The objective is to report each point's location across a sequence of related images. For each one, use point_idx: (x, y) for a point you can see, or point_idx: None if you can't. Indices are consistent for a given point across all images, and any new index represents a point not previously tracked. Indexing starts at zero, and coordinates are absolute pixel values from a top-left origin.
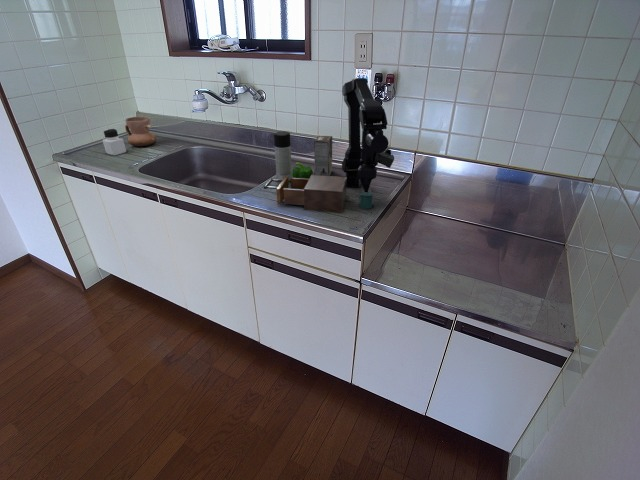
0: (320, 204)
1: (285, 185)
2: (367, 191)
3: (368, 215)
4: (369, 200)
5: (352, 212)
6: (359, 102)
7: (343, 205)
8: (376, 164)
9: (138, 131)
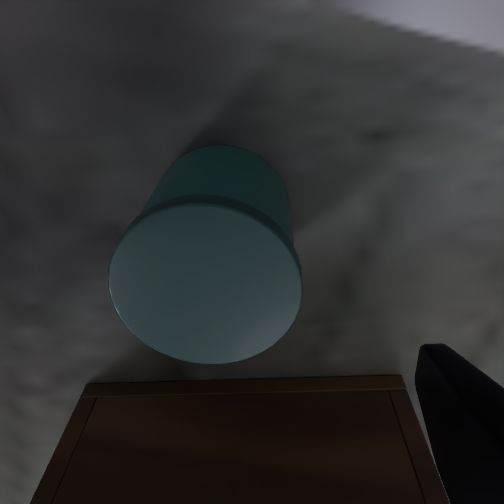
0: None
1: None
2: (457, 359)
3: (451, 158)
4: (281, 214)
5: (389, 304)
6: None
7: (275, 382)
8: None
9: None
